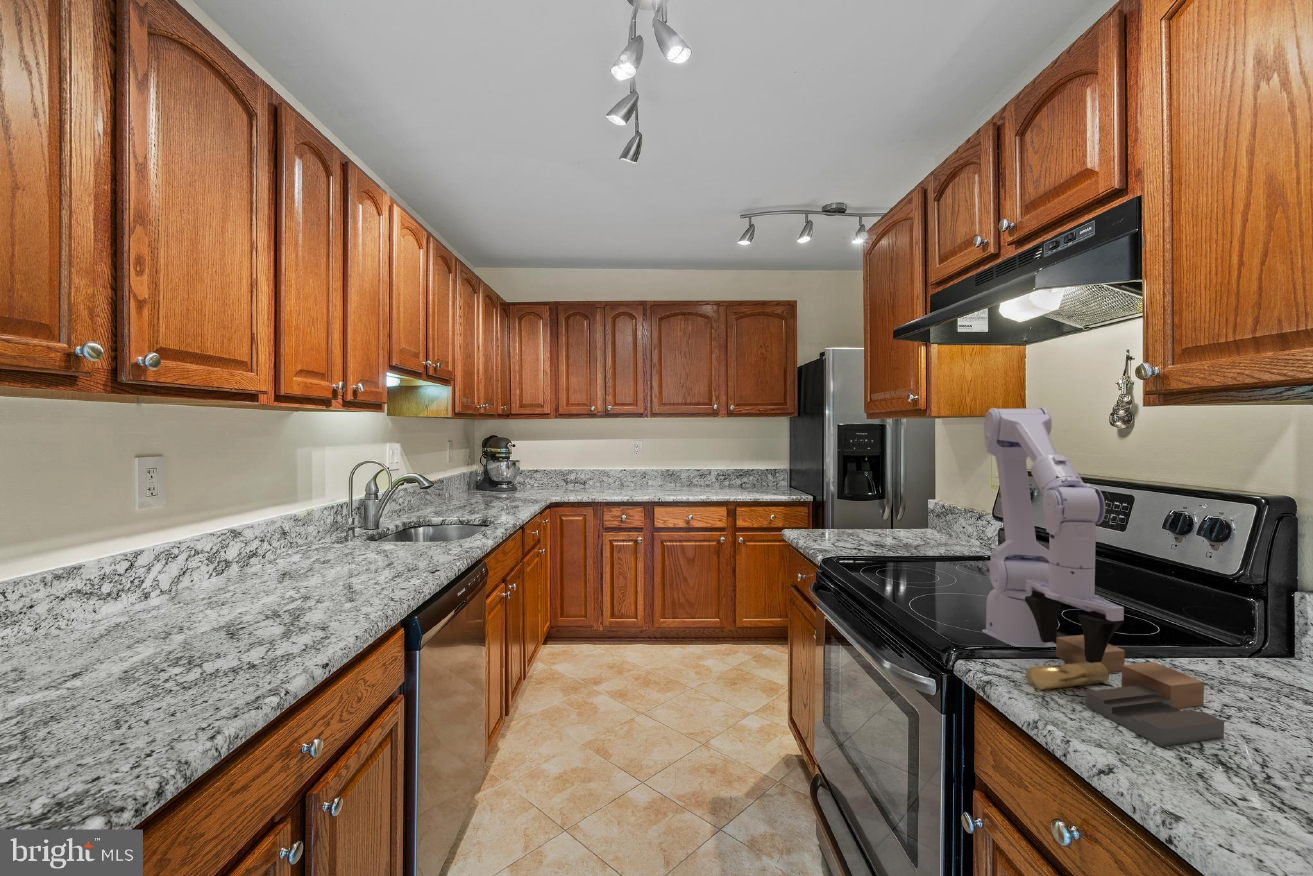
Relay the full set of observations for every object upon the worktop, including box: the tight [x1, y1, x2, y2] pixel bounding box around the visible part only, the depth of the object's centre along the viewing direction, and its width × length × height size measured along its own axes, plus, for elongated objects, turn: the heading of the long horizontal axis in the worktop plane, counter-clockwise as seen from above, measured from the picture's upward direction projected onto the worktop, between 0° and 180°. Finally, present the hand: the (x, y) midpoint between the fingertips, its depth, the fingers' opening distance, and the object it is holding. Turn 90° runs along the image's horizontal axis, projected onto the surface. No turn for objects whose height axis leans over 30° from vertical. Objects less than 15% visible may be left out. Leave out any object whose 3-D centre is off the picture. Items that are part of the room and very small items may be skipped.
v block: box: [1085, 685, 1225, 748], centre depth 76 cm, size 10×10×2 cm
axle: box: [1025, 662, 1110, 691], centre depth 86 cm, size 12×3×3 cm, turn 101°
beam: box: [1055, 634, 1205, 709], centre depth 88 cm, size 18×6×3 cm, turn 11°
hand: (1069, 651), depth 86 cm, fingers open, 7 cm apart
